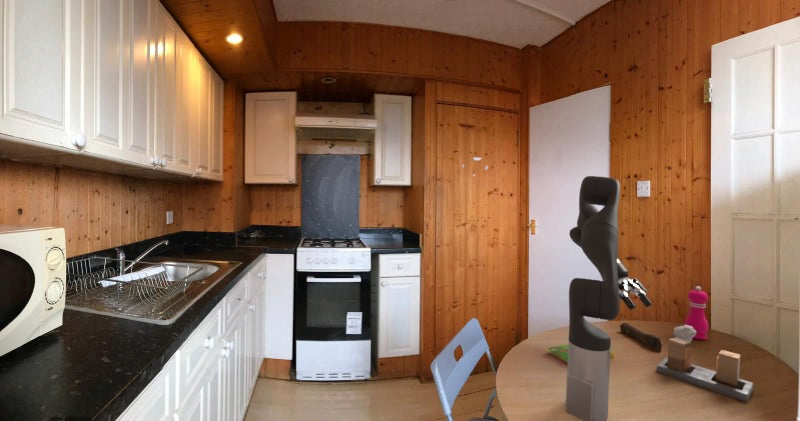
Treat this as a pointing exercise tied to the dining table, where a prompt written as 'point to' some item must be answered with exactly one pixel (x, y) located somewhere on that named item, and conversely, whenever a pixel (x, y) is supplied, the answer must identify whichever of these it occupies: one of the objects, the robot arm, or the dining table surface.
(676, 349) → the tan wooden block
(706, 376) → the gray block holder
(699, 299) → the pepper mill
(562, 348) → the game box
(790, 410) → the dining table surface
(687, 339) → the crumpled paper ball
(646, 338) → the dark brown stick
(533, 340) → the dining table surface
